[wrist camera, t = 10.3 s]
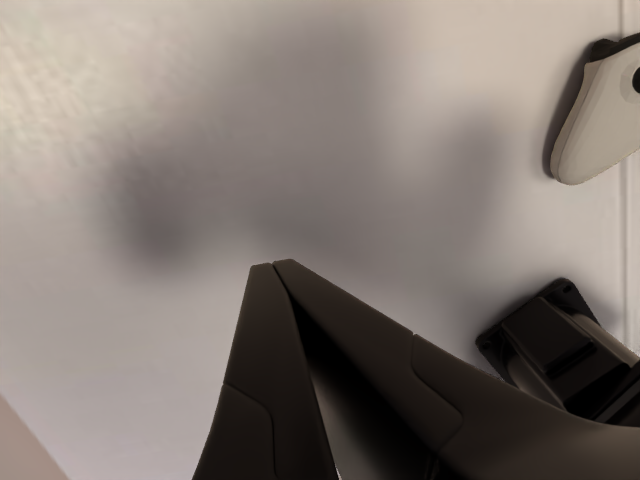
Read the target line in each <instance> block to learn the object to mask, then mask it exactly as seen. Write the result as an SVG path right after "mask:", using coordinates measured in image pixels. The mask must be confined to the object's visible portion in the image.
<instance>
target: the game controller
mask: <svg viewBox="0 0 640 480" xmlns="http://www.w3.org/2000/svg"><path fill="white" fill-rule="evenodd" d="M638 149H640V33H637V34H634V35H631V36H628V37H626V38H623V39H621V40H620V41H619V42H614V41H610V40H607V39H601V40H599V41H597V42H595V44H594V46H593V48H592V51H591V55H590V62H589V63H587V64H585V67H584V80H583V83H582V87H581V89H580V92H579V94H578V97H577V99H576V102H575V104H574V106H573V108H572V110H571V112H570V114H569V115H568V117H567V119H566V121H565V123H564V125H563V127H562V130H561V132H560V134H559V136H558V138H557V140H556V142H555V145H554V148H553V152H552V155H551V165H550V169H551V172H552V174H553V177H554V178H555V179H556V180H557V181H559V182H561V183H564V184H567V185H577V184H580V183H583V182H585V181H587V180H589V179H591V178H593V177H595V176H597V175H598V174H600V173H602V172H603V171H605V170H607V169H608V168H610V167H612V166H613V165H615V164H616V163H618V162H619V161H621V160H622V159H624V158H625V157H627V156H629V155H630V154H632V153H633V152H635V151H636V150H638Z"/></svg>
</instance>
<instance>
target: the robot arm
mask: <svg viewBox="0 0 640 480" xmlns="http://www.w3.org/2000/svg"><path fill="white" fill-rule="evenodd" d="M565 286H566V287H565ZM564 287H565V288H564ZM563 288H564V289H563ZM486 342H487V343H486ZM484 343H486V344H485V345H483V344H484ZM476 346H477V348H478V349H479V350H480V352H481V353H482V354H483V355H484V356H485V358H486V359H487V360H488V361H489V362H490V364H491V365H492V366H493V367H494V368H495V369H496V371H497V372H498V373H499V374H500V375H501V377H502V378H503V379H504V380H505V381H506V382H504V381H502V380H500V379H498V378H496V377H494V376H492V375H490V374H488V373H486V372H484V371H482V370H480V369H478V368H476V367H474V366H472V365H470V364H468V363H466V362H464V361H462V360H461V359H459V358H457V357H455V356H453V355H451V354H450V353H448V352H446V351H444V350H443V349H441V348H439V347H437V346H436V345H434V344H432V343H431V342H429V341H427V340H426V339H424V338H422V337H421V336H419V335H417V334H414V336H413V332H412V331H410V330H409V329H407V328H405V327H404V326H402V325H401V324H399V323H397V322H396V321H394V320H392V319H391V318H389V317H387V316H386V315H384V314H382V313H381V312H379V311H377V310H376V309H374V308H372V307H371V306H369V305H367V304H366V303H364V302H362V301H361V300H359V299H358V298H356V297H354V296H353V295H351V294H349V293H348V292H346V291H344V290H343V289H341V288H339V287H338V286H336V285H334V284H333V283H331V282H329V281H328V280H326V279H324V278H323V277H321V276H319V275H318V274H316V273H315V272H313V271H311V270H310V269H308V268H306V267H305V266H303V265H301V264H300V263H298V262H296V261H295V260H293V259H284V260H279V261H274V262H273V263H272V264H271V263H263V264H258V265H253V266H251V268H250V272H249V276H248V280H247V285H246V289H245V293H244V297H243V301H242V306H241V310H240V314H239V318H238V322H237V326H236V331H235V335H234V339H233V343H232V347H231V351H230V356H229V360H228V364H227V368H226V372H225V377H224V381H223V385H222V388H221V392H220V396H219V400H218V404H217V408H216V411H215V415H214V418H213V422H212V426H211V429H210V432H209V435H208V438H207V441H206V443H205V446H204V449H203V452H202V454H201V457H200V460H199V463H198V465H197V468H196V470H195V473H194V475H193V478H192V480H339V478H338V474H337V470H336V467H337V469H338V472H339V474H340V476H341V478H342V480H640V357H638V356H637V355H636V354H635V353H633V352H632V351H631V350H629V349H628V348H627V347H626V346H624V345H623V344H622V343H621V342H619V341H618V340H617V339H615V338H614V337H613V336H612V335H610V334H609V333H608V332H607V331H605V330H604V329H603V328H602V327H601V326H600V324H599V323H598V321H597V319H596V318H595V316H594V315H593V313H592V312H591V310H590V308H589V307H588V305H587V304H586V302H585V301H584V299H583V297H582V296H581V294H580V293H579V291H578V289H577V288H576V286H575V285H574V284H573V283H572V282H571V281H570V280H568V279H565V278H564V279H560V280H558V281H557V282H556V283H554V284H553V285H551V286H550V287H549V288H547V289H546V290H544V291H543V292H542V293H540V294H539V295H537V296H536V297H535V298H533V299H532V300H530V301H529V302H528V303H526V304H525V305H523V306H522V307H520V308H519V309H518V310H516V311H515V312H513V313H512V314H511V315H509V316H508V317H506V318H505V319H504V320H502V321H501V322H499V323H498V324H497V325H495V326H494V327H492V328H491V329H490V330H488V331H487V332H485V333H484V334H483V335H481V336H480V337H479V338H478V339H477V340H476ZM334 462H335V463H334ZM335 465H336V467H335Z"/></svg>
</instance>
